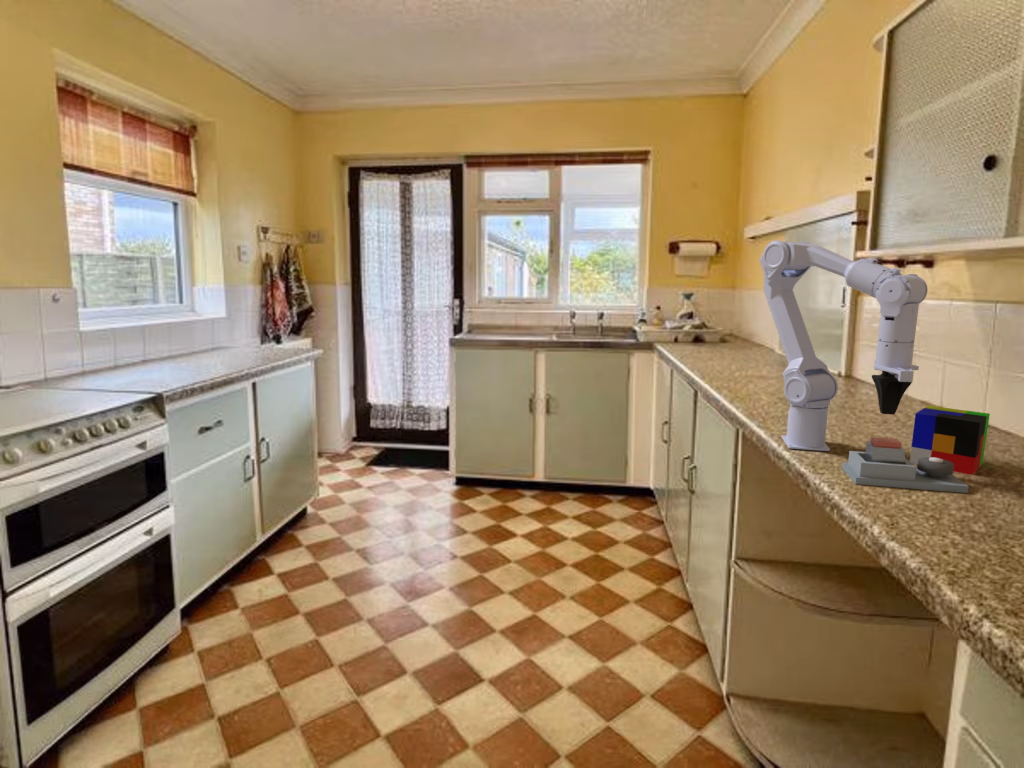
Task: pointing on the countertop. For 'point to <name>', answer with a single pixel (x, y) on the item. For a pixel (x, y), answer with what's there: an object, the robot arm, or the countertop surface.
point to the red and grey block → (884, 451)
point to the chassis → (898, 475)
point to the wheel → (935, 466)
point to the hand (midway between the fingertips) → (887, 413)
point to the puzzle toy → (950, 437)
